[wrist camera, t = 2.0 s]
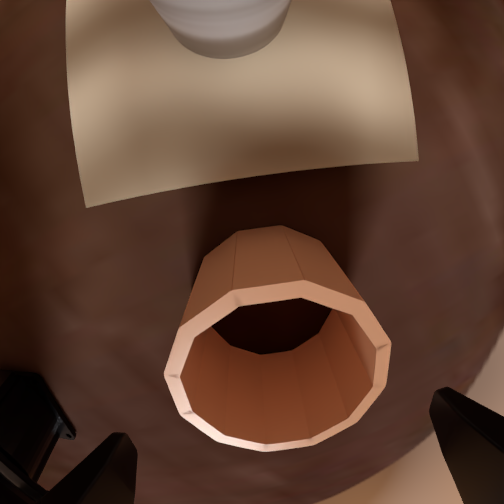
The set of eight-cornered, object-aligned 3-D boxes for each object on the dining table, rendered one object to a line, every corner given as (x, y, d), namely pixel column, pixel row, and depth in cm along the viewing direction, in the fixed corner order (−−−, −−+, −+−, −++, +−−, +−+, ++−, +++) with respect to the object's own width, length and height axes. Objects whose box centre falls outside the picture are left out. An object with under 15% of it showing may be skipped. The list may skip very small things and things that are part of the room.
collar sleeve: (343, 349, 16) (377, 430, 11) (210, 367, 16) (198, 456, 11) (339, 217, 14) (396, 265, 8) (179, 239, 14) (138, 301, 8)
